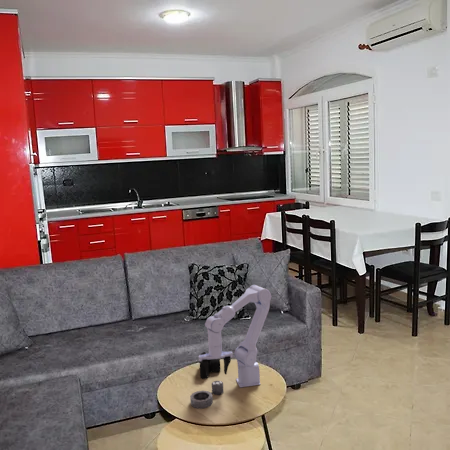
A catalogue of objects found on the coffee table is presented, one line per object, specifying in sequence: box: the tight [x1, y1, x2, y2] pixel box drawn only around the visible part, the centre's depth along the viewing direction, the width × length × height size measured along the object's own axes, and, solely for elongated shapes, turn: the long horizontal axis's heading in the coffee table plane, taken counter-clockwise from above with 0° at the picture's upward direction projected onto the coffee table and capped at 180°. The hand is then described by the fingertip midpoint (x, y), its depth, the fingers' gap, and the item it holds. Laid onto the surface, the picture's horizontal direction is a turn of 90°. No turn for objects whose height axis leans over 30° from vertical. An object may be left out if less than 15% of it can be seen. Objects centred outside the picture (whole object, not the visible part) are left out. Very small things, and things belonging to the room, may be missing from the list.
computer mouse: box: [211, 380, 224, 396], centre depth 201 cm, size 5×5×4 cm
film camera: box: [198, 351, 221, 380], centre depth 221 cm, size 15×10×9 cm, turn 179°
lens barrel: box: [190, 390, 214, 410], centre depth 193 cm, size 9×9×3 cm
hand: (216, 374), depth 200 cm, fingers open, 7 cm apart
